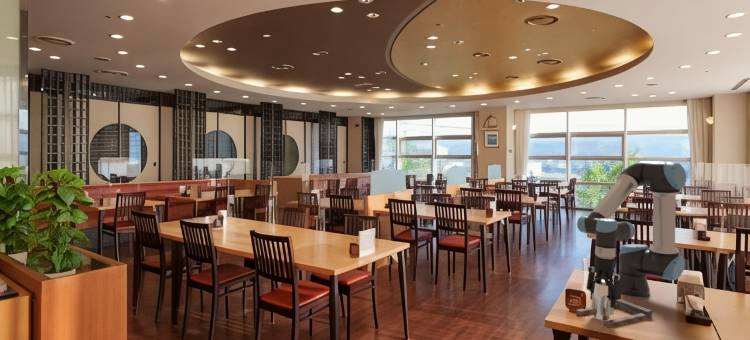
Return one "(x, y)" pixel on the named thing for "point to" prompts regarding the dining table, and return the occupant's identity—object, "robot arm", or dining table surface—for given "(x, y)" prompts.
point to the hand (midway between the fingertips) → (602, 311)
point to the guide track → (635, 309)
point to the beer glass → (601, 301)
